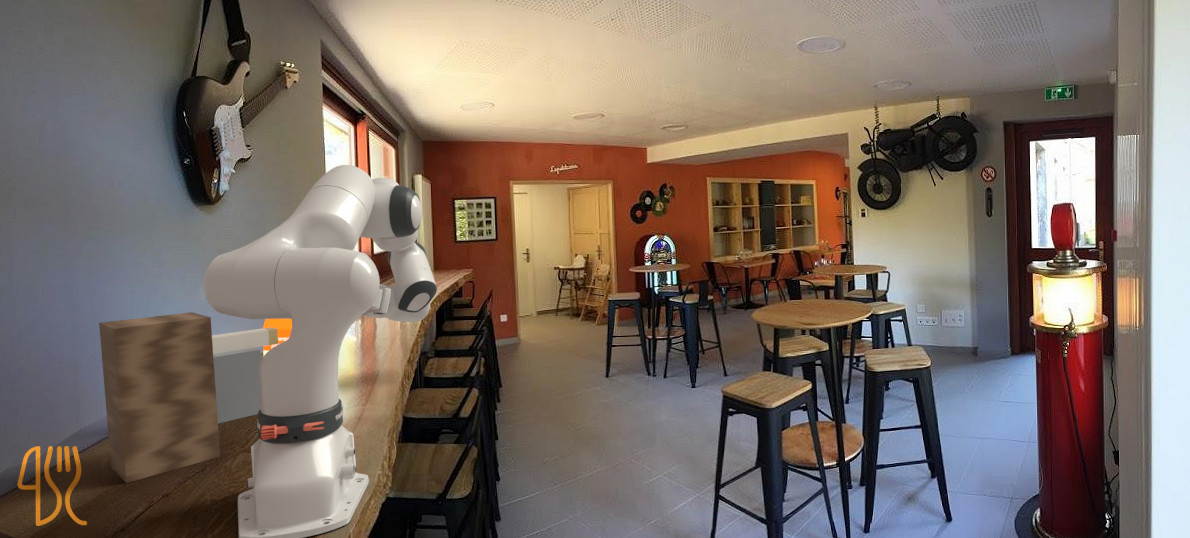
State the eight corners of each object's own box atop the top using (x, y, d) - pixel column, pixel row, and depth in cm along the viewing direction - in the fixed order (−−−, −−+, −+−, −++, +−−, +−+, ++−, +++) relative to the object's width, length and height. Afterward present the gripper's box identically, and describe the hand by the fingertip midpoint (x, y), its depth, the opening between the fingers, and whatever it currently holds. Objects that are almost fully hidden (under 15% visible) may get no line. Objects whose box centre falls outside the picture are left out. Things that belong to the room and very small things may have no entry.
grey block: (246, 404, 143) (242, 344, 142) (264, 412, 137) (260, 349, 135) (198, 415, 135) (193, 351, 134) (214, 424, 129) (210, 357, 128)
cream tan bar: (271, 342, 144) (270, 327, 143) (278, 343, 141) (277, 328, 141) (173, 357, 128) (171, 341, 128) (178, 360, 126) (177, 343, 126)
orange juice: (297, 381, 163) (292, 308, 161) (264, 381, 163) (260, 308, 161) (311, 374, 171) (307, 304, 169) (280, 374, 171) (276, 304, 169)
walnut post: (201, 444, 118) (191, 312, 115) (220, 456, 111) (210, 317, 109) (111, 467, 107) (99, 322, 105) (126, 483, 100) (113, 328, 98)
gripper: (352, 286, 163) (301, 276, 152) (394, 289, 150) (342, 278, 139) (347, 309, 162) (296, 301, 151) (389, 314, 149) (337, 305, 138)
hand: (318, 290), depth 145 cm, fingers open, 8 cm apart
